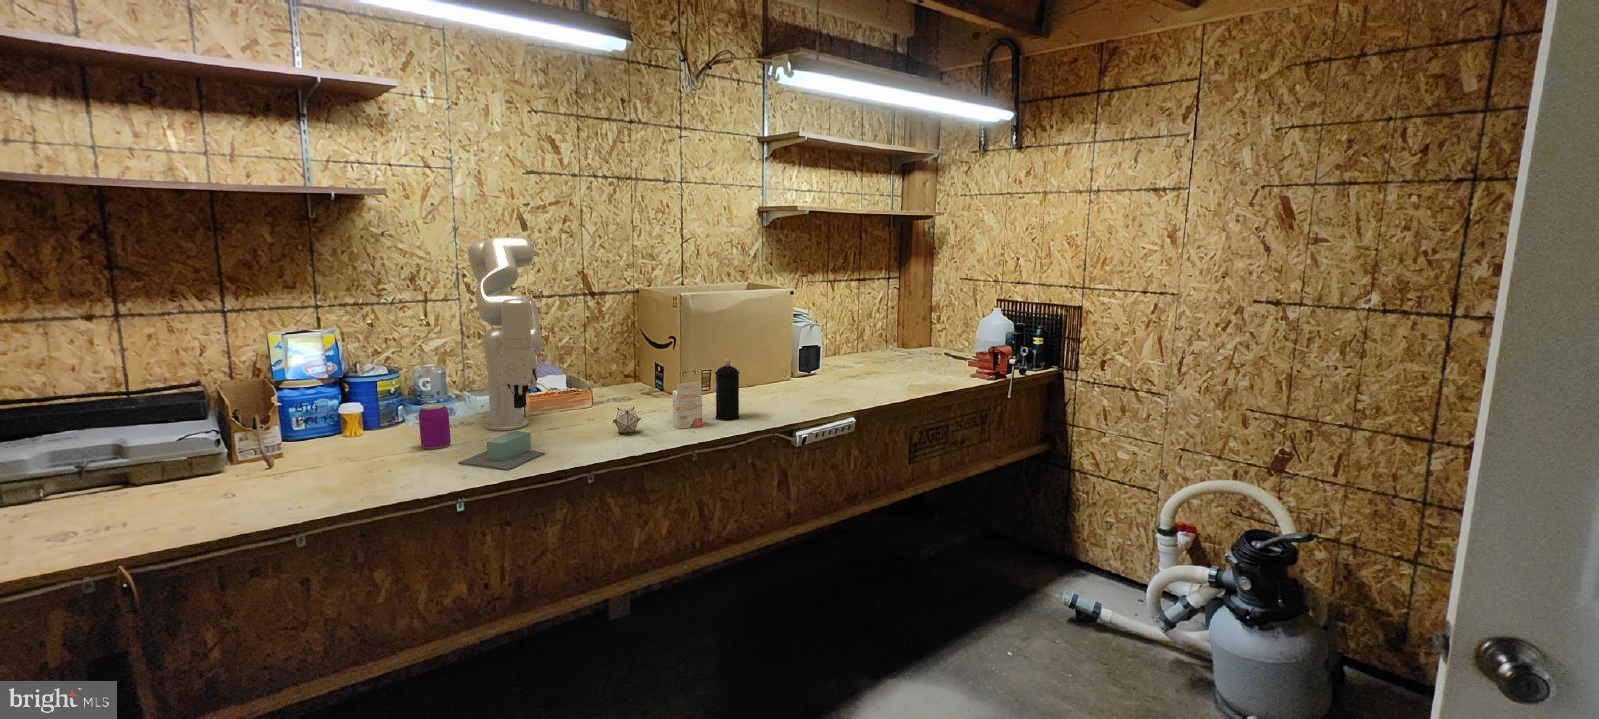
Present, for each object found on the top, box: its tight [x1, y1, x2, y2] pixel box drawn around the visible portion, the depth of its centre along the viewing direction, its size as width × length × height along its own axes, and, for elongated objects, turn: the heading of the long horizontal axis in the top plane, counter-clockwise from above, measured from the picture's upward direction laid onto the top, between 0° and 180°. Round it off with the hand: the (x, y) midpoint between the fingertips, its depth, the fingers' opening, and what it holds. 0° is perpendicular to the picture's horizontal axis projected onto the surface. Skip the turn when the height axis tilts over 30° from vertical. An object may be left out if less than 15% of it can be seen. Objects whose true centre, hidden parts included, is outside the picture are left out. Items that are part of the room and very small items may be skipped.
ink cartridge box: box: [672, 381, 704, 430], centre depth 230 cm, size 9×5×15 cm, turn 118°
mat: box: [457, 450, 546, 471], centre depth 195 cm, size 16×15×1 cm
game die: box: [612, 406, 642, 435], centre depth 221 cm, size 9×8×10 cm
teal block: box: [485, 429, 533, 461], centre depth 197 cm, size 5×5×12 cm
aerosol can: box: [714, 359, 740, 422], centre depth 240 cm, size 8×8×20 cm
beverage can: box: [418, 402, 451, 450], centre depth 205 cm, size 8×8×12 cm
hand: (520, 407), depth 201 cm, fingers closed
